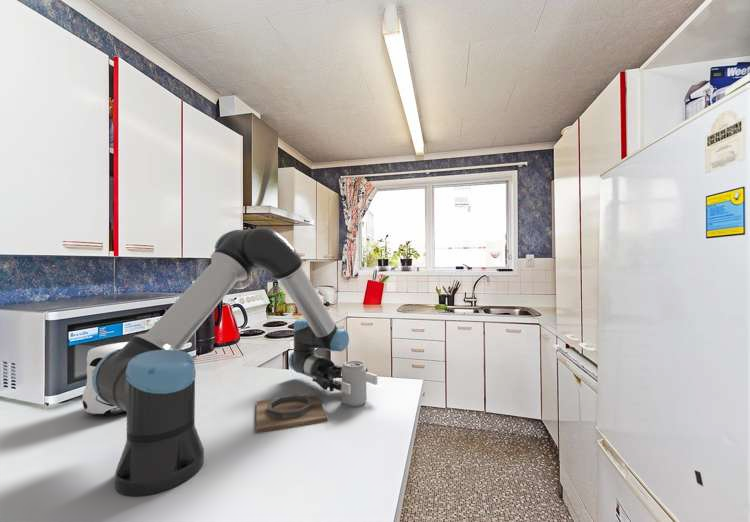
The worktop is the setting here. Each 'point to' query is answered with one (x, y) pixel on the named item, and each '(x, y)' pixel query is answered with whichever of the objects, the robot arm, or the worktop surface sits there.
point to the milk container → (90, 398)
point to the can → (354, 383)
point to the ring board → (289, 412)
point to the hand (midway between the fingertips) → (363, 384)
